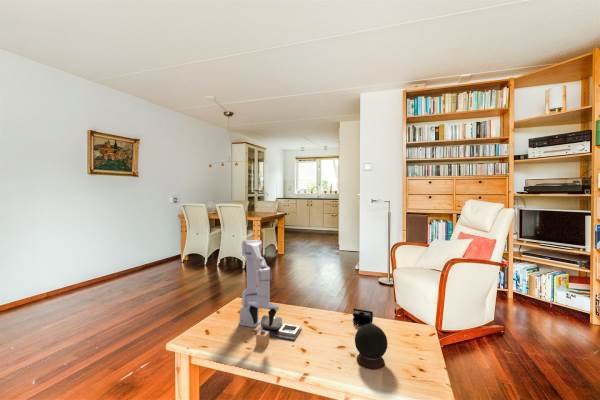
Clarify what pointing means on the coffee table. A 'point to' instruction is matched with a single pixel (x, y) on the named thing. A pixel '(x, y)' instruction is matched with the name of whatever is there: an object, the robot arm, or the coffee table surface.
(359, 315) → the end cap
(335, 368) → the coffee table surface
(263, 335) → the cube with grey knob
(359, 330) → the black orb on pedestal
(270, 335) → the motor mount
